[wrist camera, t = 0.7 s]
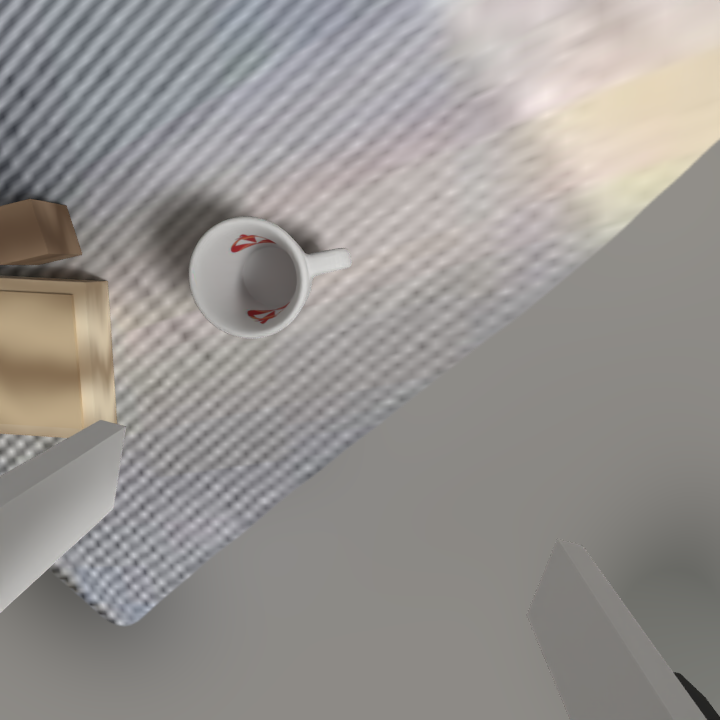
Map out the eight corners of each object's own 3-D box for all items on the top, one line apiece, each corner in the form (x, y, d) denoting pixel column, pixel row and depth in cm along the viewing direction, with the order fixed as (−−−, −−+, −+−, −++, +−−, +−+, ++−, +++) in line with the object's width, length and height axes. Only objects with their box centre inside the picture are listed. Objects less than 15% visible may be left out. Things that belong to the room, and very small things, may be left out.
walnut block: (22, 216, 37) (-20, 210, 33) (67, 205, 37) (30, 198, 33) (39, 264, 38) (0, 264, 34) (83, 254, 38) (48, 253, 34)
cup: (343, 208, 36) (333, 192, 28) (365, 305, 38) (361, 316, 30) (215, 238, 37) (171, 231, 29) (241, 332, 39) (206, 350, 31)
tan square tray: (-65, 272, 39) (-106, 272, 35) (107, 281, 38) (82, 282, 35) (-44, 416, 41) (-80, 429, 38) (117, 427, 41) (94, 441, 38)
